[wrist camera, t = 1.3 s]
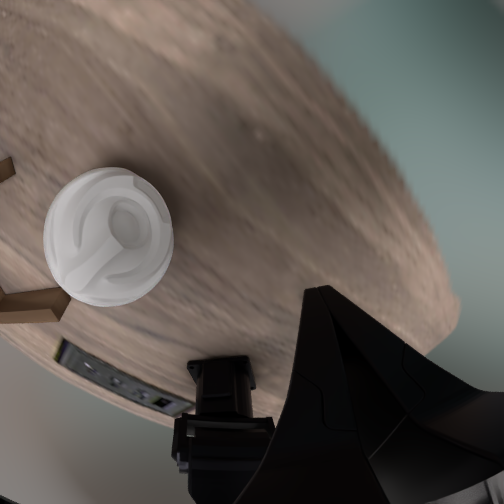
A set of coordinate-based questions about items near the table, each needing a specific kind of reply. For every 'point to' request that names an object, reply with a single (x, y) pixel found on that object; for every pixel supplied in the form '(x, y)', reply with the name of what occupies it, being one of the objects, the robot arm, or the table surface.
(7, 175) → the carrier cradle
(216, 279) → the table surface
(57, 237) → the white carved ball
